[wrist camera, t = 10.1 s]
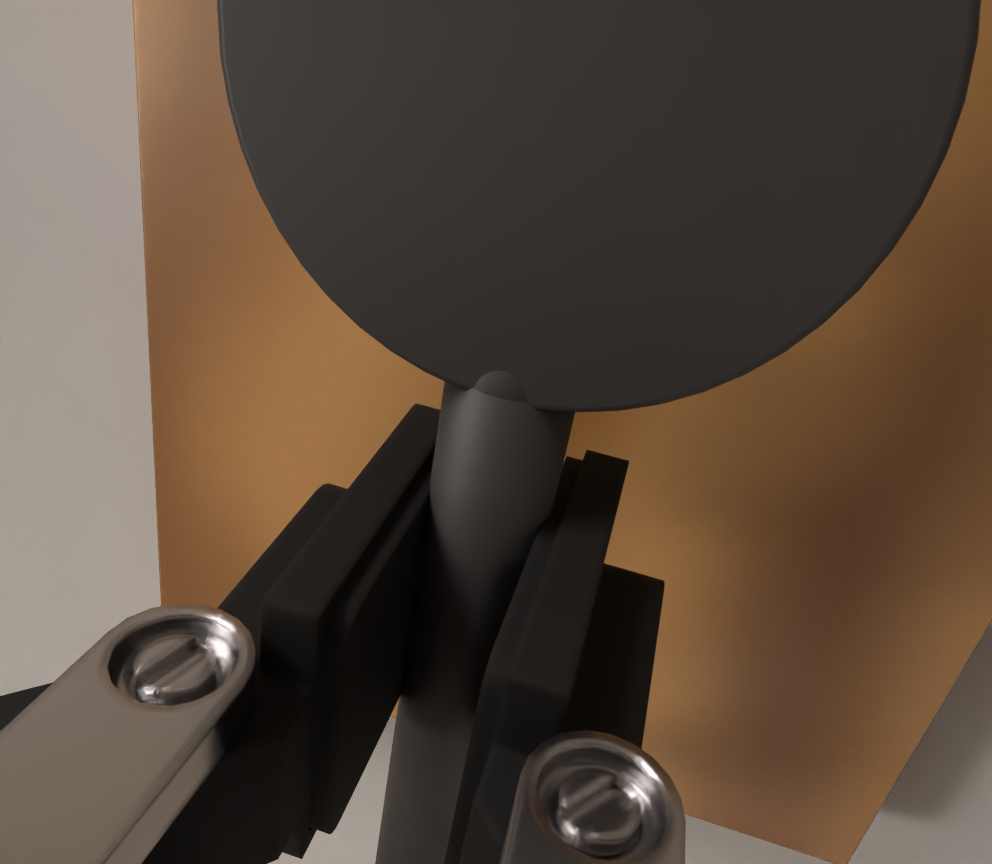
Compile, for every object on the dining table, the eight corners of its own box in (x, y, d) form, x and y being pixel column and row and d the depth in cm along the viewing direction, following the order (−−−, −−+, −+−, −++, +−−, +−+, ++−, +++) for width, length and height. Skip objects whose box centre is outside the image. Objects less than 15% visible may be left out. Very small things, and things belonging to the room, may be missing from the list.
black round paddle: (365, -357, 8) (201, -500, 5) (1031, -265, 7) (1179, -384, 4) (296, 771, 15) (217, 912, 13) (606, 875, 14) (580, 1045, 12)
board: (1376, -168, 9) (1479, -191, 8) (839, 802, 17) (845, 869, 16) (185, -338, 11) (111, -380, 10) (200, 597, 19) (161, 641, 18)
